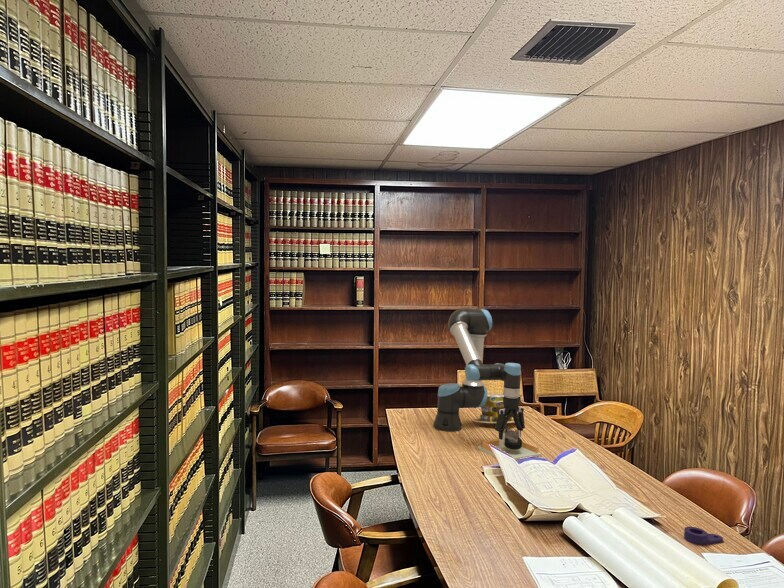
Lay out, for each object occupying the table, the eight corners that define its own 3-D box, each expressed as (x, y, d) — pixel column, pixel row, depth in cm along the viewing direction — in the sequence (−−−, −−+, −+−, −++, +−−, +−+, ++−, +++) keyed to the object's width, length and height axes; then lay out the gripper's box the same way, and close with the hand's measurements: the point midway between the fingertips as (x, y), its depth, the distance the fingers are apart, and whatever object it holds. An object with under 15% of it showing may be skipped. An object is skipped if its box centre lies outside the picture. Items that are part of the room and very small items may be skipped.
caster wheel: (517, 456, 237) (496, 448, 243) (526, 445, 246) (506, 438, 252) (518, 442, 235) (498, 435, 241) (527, 432, 244) (507, 425, 250)
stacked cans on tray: (465, 418, 305) (467, 390, 305) (505, 417, 311) (506, 389, 310) (482, 430, 281) (484, 399, 281) (525, 429, 287) (526, 398, 286)
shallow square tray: (477, 448, 248) (478, 441, 248) (511, 443, 258) (512, 436, 258) (506, 462, 230) (506, 453, 230) (541, 456, 241) (541, 448, 240)
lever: (693, 546, 160) (693, 536, 160) (679, 536, 167) (679, 526, 167) (728, 545, 162) (729, 535, 162) (713, 535, 168) (714, 525, 168)
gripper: (498, 399, 235) (496, 450, 236) (534, 396, 246) (532, 444, 246) (488, 396, 242) (486, 445, 242) (523, 393, 252) (521, 440, 253)
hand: (509, 444), depth 244 cm, fingers closed on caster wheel, 9 cm apart
